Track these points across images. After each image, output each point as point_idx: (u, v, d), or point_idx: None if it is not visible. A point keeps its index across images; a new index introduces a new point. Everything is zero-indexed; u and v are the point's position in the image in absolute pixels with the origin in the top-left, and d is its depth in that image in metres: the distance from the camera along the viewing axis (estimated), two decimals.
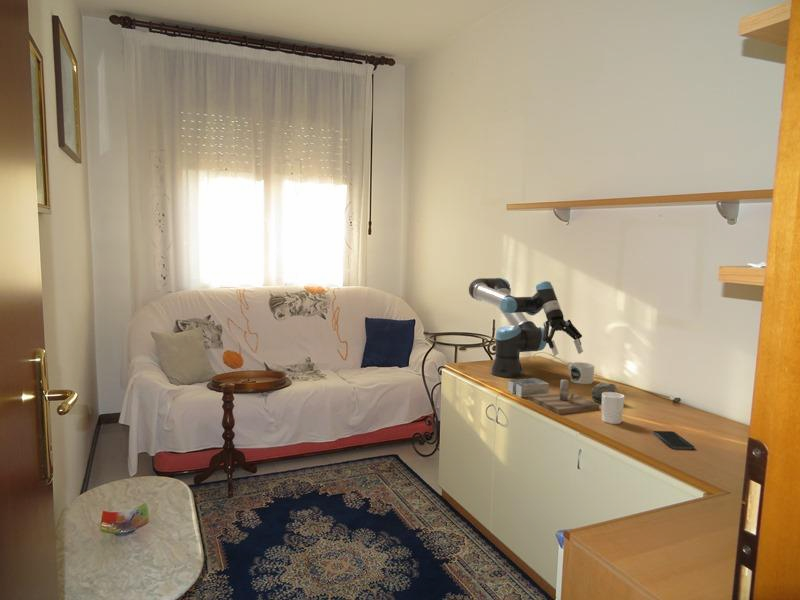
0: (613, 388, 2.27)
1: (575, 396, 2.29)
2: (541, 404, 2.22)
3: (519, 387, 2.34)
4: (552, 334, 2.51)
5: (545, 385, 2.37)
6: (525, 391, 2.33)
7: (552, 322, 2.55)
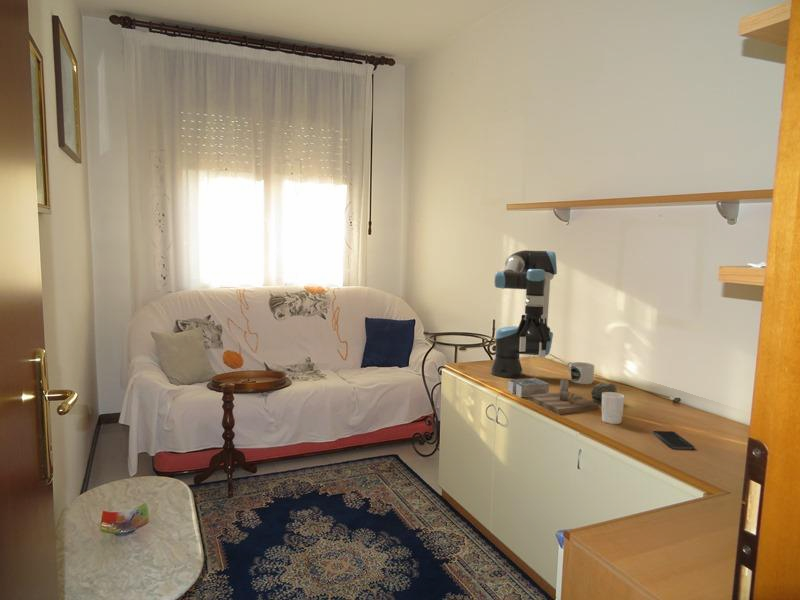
0: (613, 388, 2.27)
1: (575, 396, 2.29)
2: (541, 404, 2.22)
3: (519, 387, 2.34)
4: (522, 330, 2.42)
5: (545, 385, 2.37)
6: (525, 391, 2.33)
7: (526, 317, 2.39)
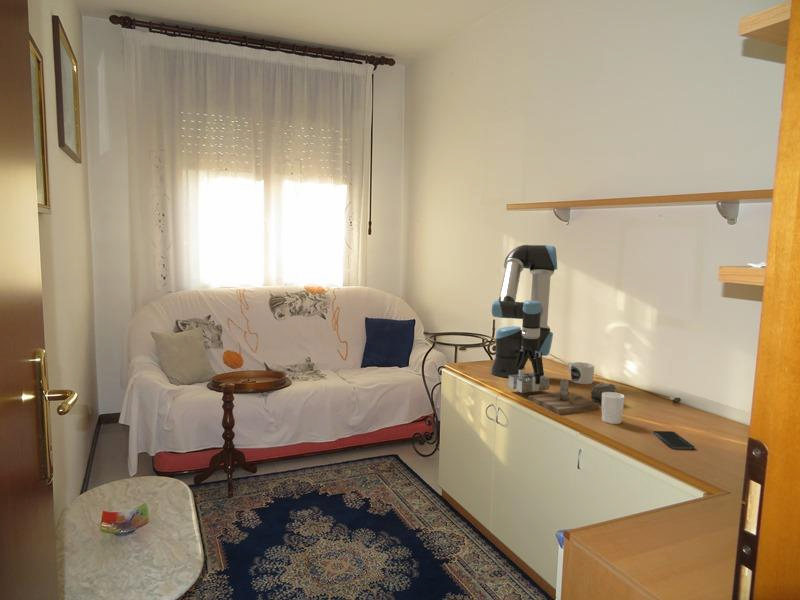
0: (613, 388, 2.26)
1: (575, 396, 2.29)
2: (541, 404, 2.22)
3: (520, 382, 2.34)
4: (520, 363, 2.43)
5: (545, 380, 2.37)
6: (526, 386, 2.34)
7: (523, 348, 2.41)
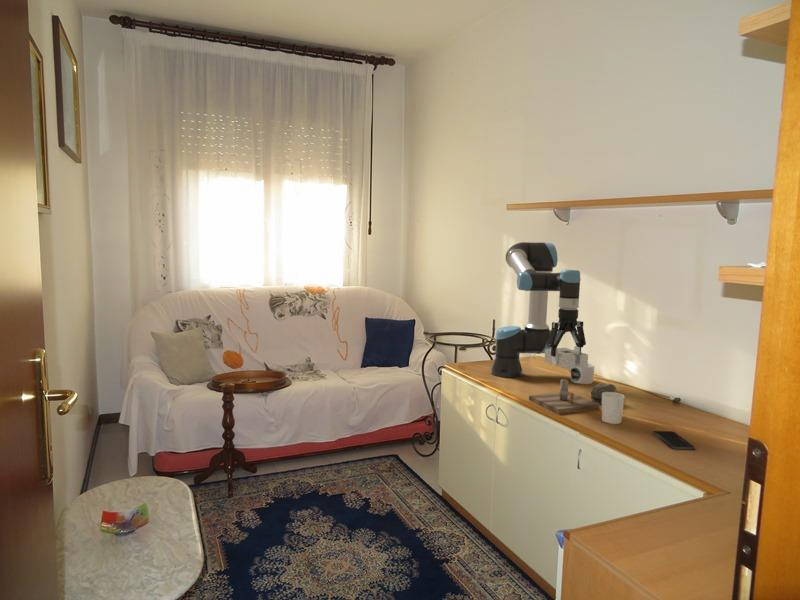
0: (612, 389, 2.26)
1: (575, 396, 2.29)
2: (541, 404, 2.22)
3: (585, 357, 2.17)
4: (558, 340, 2.18)
5: None
6: None
7: (562, 323, 2.18)
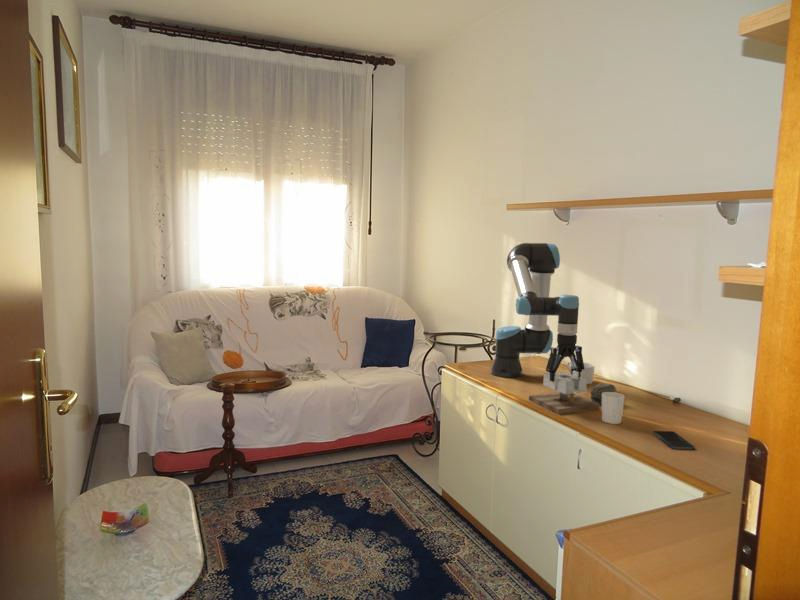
0: (612, 389, 2.26)
1: (575, 396, 2.29)
2: (541, 404, 2.22)
3: (583, 382, 2.18)
4: (557, 366, 2.20)
5: None
6: None
7: (561, 349, 2.20)
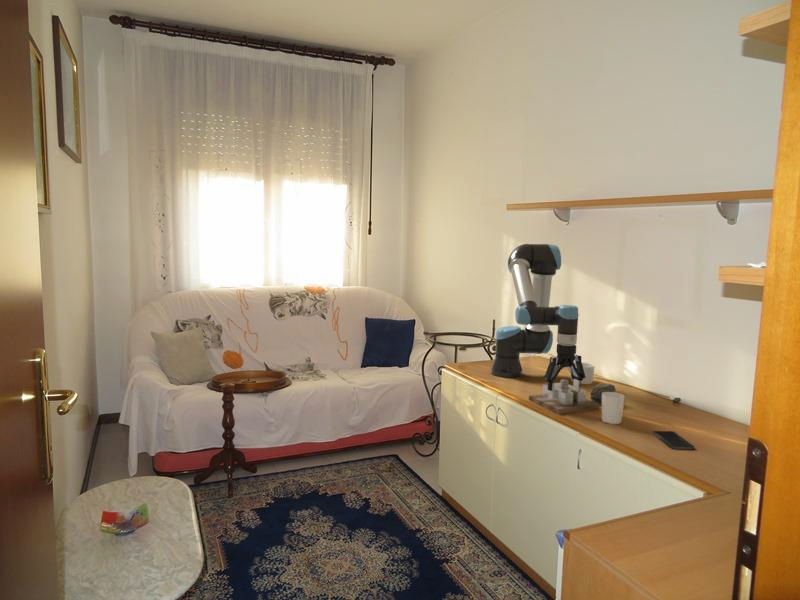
0: (612, 389, 2.26)
1: None
2: (541, 404, 2.22)
3: (582, 393, 2.19)
4: (555, 375, 2.20)
5: None
6: None
7: (560, 359, 2.20)
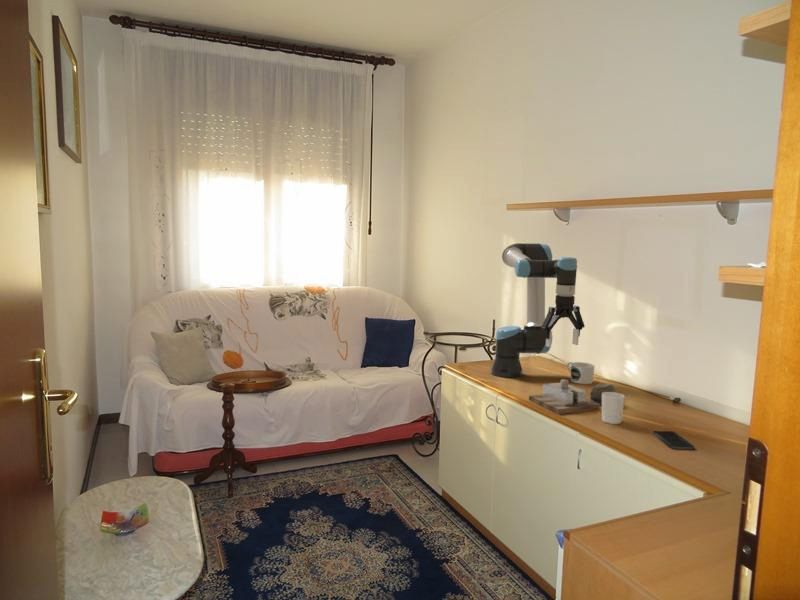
0: (612, 389, 2.25)
1: None
2: (541, 404, 2.22)
3: (582, 393, 2.19)
4: (553, 324, 2.26)
5: None
6: None
7: (559, 309, 2.26)
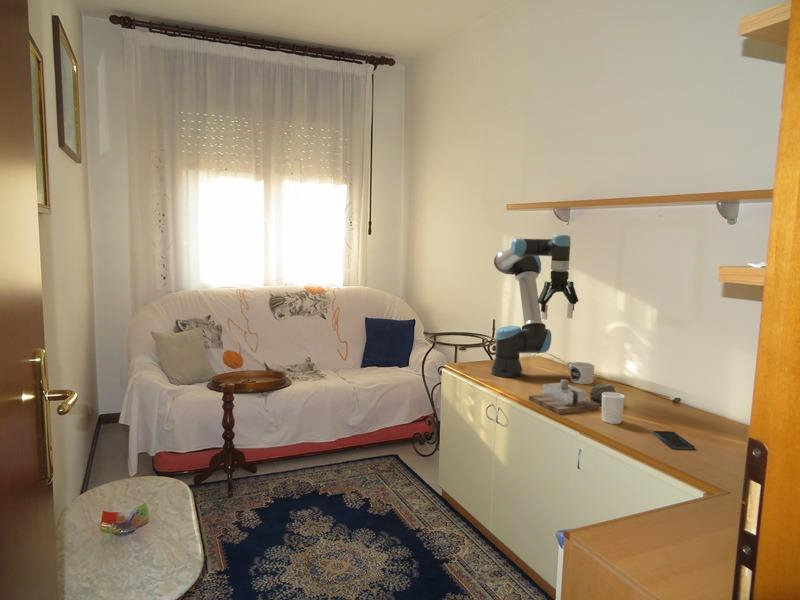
0: (612, 389, 2.25)
1: None
2: (541, 404, 2.22)
3: (582, 393, 2.19)
4: (549, 298, 2.39)
5: None
6: None
7: (554, 284, 2.40)
